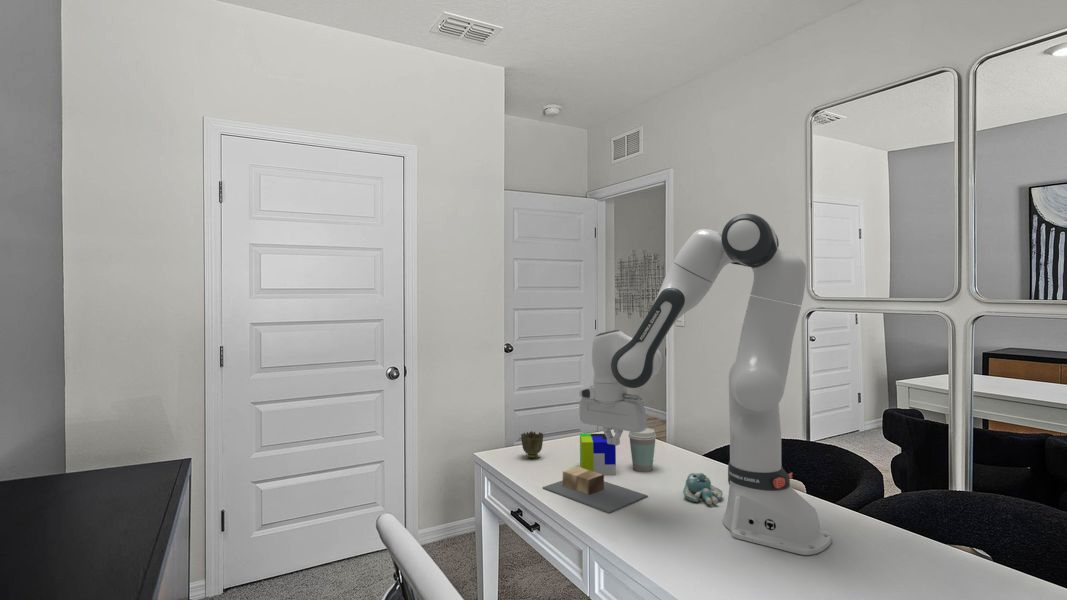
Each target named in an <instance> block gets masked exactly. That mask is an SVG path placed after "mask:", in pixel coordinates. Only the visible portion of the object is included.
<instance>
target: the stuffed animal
mask: <svg viewBox="0 0 1067 600" xmlns="http://www.w3.org/2000/svg"><path fill="white" fill-rule="evenodd" d="M682 493H683V496H684V498H685V499H687V500H689V501H690V502H695V503H699V502H700V501H701V498H702V499H703V500H704V501H705V503H706V504H707V505H712V504H713V505H717V504H718V503H719V501H720V500H721V498H722V496H723V490H721V489H719V488H718V487H716V486H714V485H712V483H711V480H710V477H709V476H707V475H706V474H704V473H703V472H696V473H694V472H693V473H692V472H691V473H689V475H687V478H686V481H685V484H684V488H683V491H682ZM700 497H701V498H700Z"/></svg>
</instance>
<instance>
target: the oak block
mask: <svg viewBox="0 0 1067 600" xmlns="http://www.w3.org/2000/svg"><path fill="white" fill-rule="evenodd" d="M562 480H563V486H566V487H569V488H571V489H574V490H577V491H580V492H583V493H585V494H588V495H590V494H593V493H596V492H598V491H601V490H604V481H605V475H603V474H599V473H596V472H593V471H590V470H587V469H583V468H581V466H575V467H572V468H568V469H566V470H562Z"/></svg>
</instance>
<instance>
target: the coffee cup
mask: <svg viewBox="0 0 1067 600" xmlns="http://www.w3.org/2000/svg"><path fill="white" fill-rule="evenodd" d="M628 432H629V433H628V438H629V443H630V444H629V445H630V453H631V461H632V469H633V470H635V471H637V472H641V473H648V472H651V471H653V467H654V456H655V449H656V446H655V445H656V439H657V434H656V431H655V429H653V428H650V427H647V428H646V429H645V430H644V431H642V432H638V433H637V432H631V431H628Z"/></svg>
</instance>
